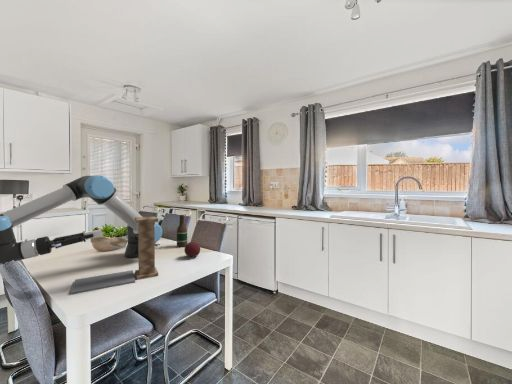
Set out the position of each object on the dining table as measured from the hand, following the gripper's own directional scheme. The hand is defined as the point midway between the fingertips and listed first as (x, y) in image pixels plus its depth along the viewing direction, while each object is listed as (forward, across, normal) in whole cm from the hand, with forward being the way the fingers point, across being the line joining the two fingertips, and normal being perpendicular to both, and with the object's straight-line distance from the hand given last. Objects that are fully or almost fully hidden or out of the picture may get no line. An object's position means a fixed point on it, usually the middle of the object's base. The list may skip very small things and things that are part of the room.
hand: (101, 232), depth 114 cm
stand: (+15, -1, +27) cm, 31 cm away
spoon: (0, 0, +5) cm, 5 cm away
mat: (-3, 0, +24) cm, 24 cm away
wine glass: (+29, +58, +30) cm, 72 cm away
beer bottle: (+46, +45, +32) cm, 72 cm away
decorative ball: (+45, +16, +32) cm, 57 cm away
